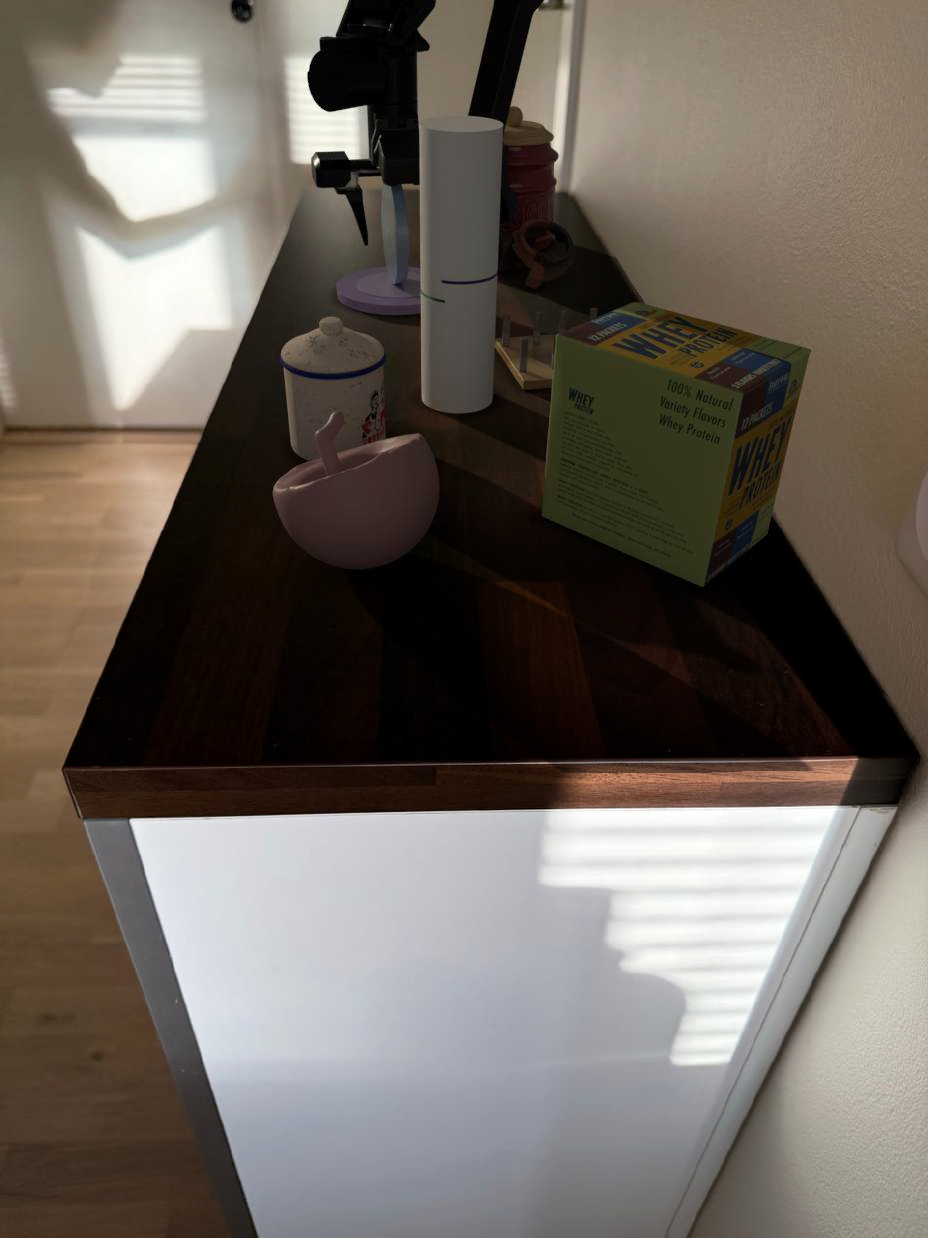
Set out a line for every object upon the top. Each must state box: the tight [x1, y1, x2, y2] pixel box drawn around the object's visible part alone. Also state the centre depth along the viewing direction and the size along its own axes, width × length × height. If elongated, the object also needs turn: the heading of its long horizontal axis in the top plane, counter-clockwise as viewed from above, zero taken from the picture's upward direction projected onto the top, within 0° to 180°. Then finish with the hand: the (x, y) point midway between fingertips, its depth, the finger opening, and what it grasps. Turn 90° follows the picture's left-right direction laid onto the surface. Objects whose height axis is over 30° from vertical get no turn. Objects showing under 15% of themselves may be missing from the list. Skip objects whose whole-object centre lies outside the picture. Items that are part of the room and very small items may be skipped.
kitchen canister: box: [500, 105, 560, 251], centre depth 137 cm, size 13×13×18 cm
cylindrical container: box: [419, 115, 503, 414], centre depth 91 cm, size 7×7×25 cm
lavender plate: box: [335, 266, 421, 316], centre depth 123 cm, size 15×15×1 cm
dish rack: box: [495, 307, 598, 391], centre depth 105 cm, size 12×11×4 cm
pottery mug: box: [497, 219, 574, 290], centre depth 127 cm, size 12×10×8 cm
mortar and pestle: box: [272, 411, 441, 571], centre depth 72 cm, size 12×12×12 cm
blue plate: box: [380, 182, 410, 284], centre depth 119 cm, size 12×1×12 cm
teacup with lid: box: [279, 316, 387, 462], centre depth 87 cm, size 12×9×12 cm
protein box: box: [540, 301, 812, 588], centre depth 75 cm, size 10×15×16 cm
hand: (395, 243), depth 119 cm, fingers open, 7 cm apart
